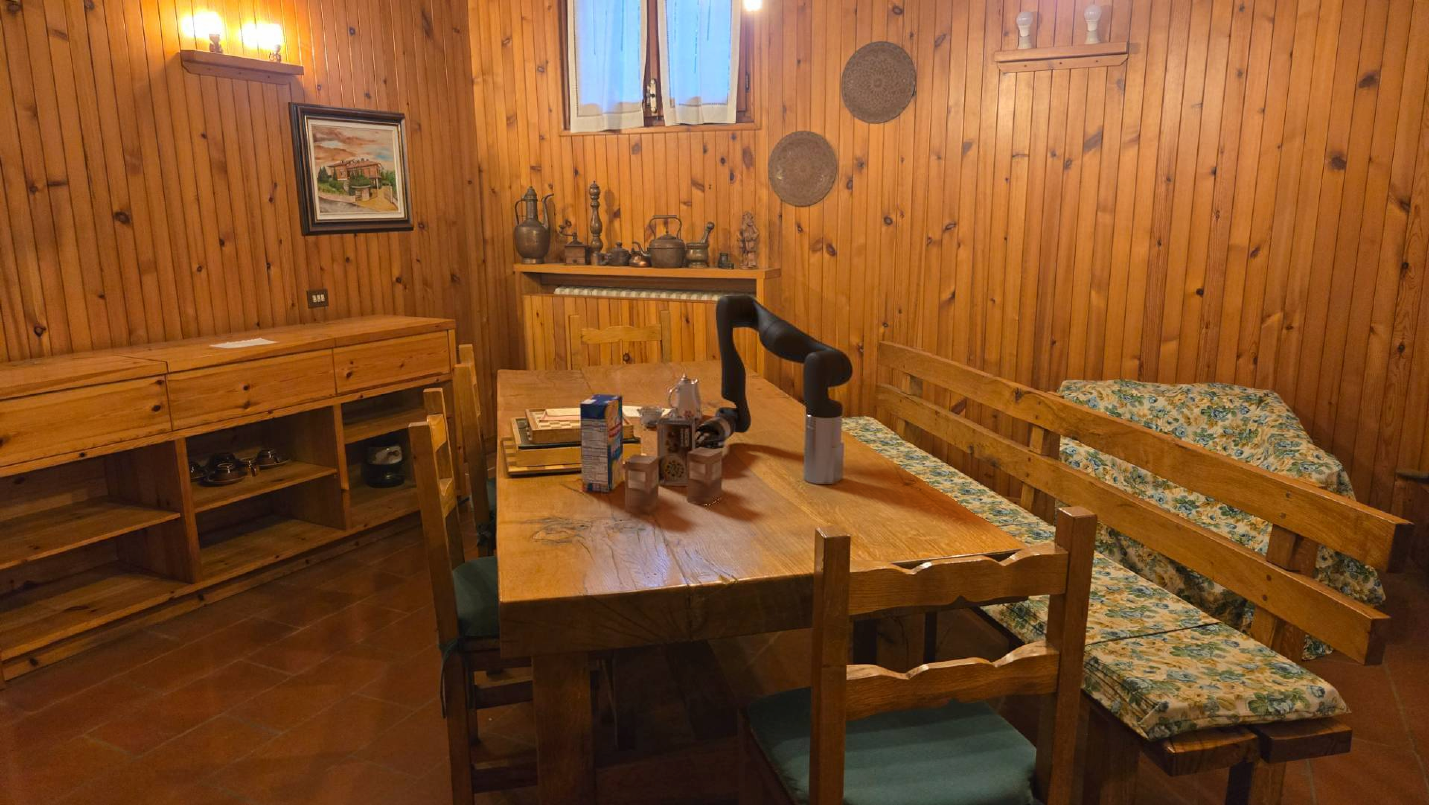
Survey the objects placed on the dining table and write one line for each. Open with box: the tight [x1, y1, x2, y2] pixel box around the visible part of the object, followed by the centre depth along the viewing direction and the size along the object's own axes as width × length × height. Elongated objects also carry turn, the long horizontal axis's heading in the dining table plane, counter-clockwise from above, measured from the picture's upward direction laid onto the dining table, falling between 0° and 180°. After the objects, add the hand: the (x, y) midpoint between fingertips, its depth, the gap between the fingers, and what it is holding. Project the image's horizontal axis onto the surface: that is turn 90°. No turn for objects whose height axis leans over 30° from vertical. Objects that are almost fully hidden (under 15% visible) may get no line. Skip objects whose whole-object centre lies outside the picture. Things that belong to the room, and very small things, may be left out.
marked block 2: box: [686, 447, 723, 505], centre depth 222 cm, size 6×6×12 cm
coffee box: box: [656, 417, 696, 487], centre depth 234 cm, size 9×6×16 cm
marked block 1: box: [624, 454, 659, 515], centre depth 215 cm, size 6×6×12 cm
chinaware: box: [636, 373, 706, 428], centre depth 295 cm, size 28×17×17 cm, turn 143°
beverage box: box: [579, 393, 624, 494], centre depth 231 cm, size 7×11×22 cm, turn 166°
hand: (689, 449), depth 241 cm, fingers closed
